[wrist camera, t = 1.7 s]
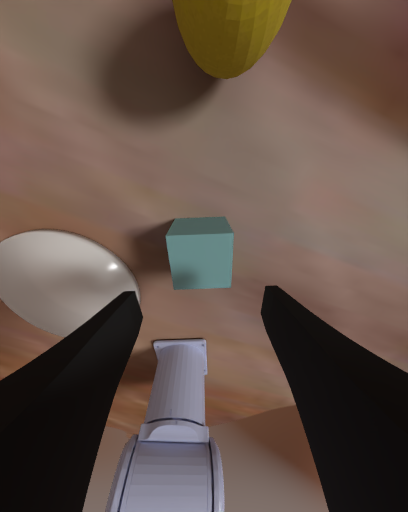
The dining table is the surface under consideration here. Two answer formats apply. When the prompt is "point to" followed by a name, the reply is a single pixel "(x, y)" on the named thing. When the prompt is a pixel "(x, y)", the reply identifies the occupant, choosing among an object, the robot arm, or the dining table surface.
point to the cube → (200, 252)
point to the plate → (60, 278)
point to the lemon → (228, 32)
